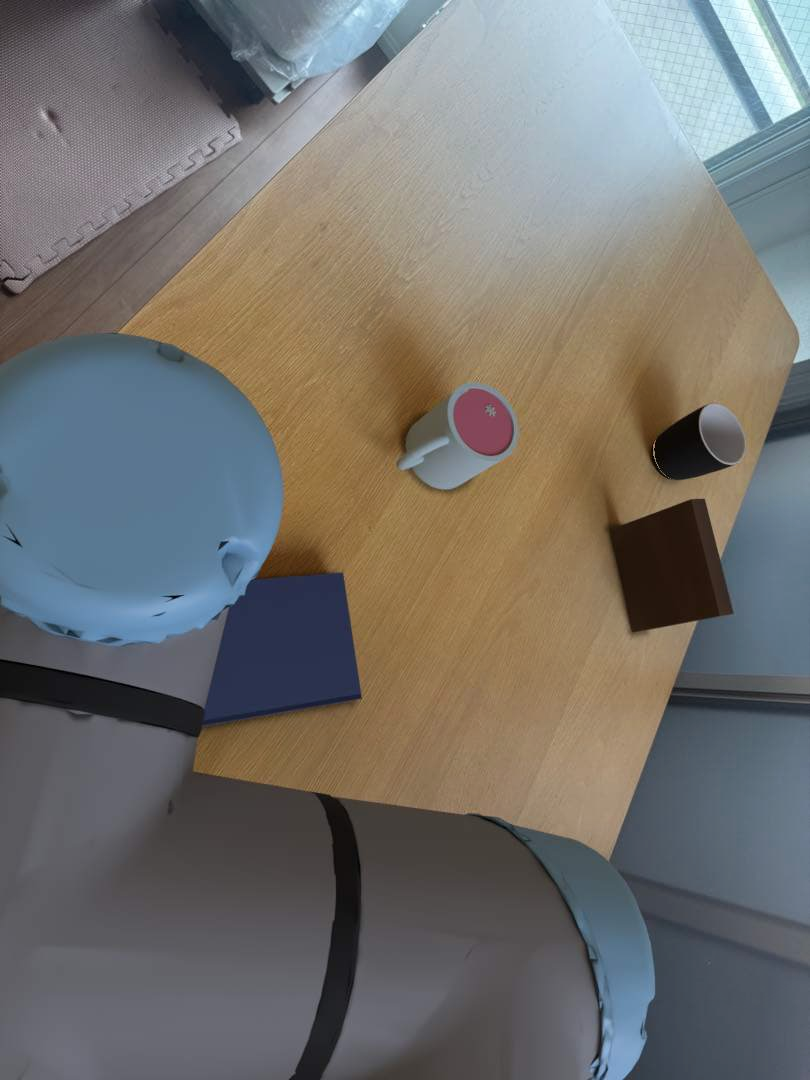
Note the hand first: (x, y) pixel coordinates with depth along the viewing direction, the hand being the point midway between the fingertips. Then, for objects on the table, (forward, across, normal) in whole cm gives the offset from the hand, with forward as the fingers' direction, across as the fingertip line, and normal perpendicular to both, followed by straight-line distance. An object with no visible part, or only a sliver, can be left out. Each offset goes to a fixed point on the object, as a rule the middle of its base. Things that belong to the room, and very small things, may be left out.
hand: (61, 652), depth 49 cm
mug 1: (+17, -42, -20) cm, 49 cm away
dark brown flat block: (+17, -70, -3) cm, 72 cm away
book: (+17, -16, 0) cm, 23 cm away
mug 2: (+17, -84, -21) cm, 88 cm away
